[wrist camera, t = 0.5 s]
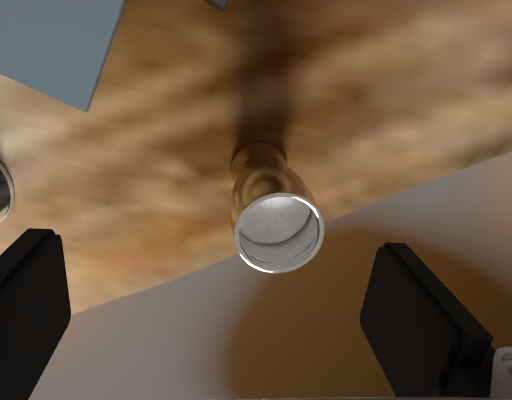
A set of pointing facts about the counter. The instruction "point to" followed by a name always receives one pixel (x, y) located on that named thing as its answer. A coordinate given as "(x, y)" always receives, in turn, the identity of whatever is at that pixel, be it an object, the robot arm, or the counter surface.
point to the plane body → (218, 4)
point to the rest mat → (58, 45)
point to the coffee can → (5, 193)
